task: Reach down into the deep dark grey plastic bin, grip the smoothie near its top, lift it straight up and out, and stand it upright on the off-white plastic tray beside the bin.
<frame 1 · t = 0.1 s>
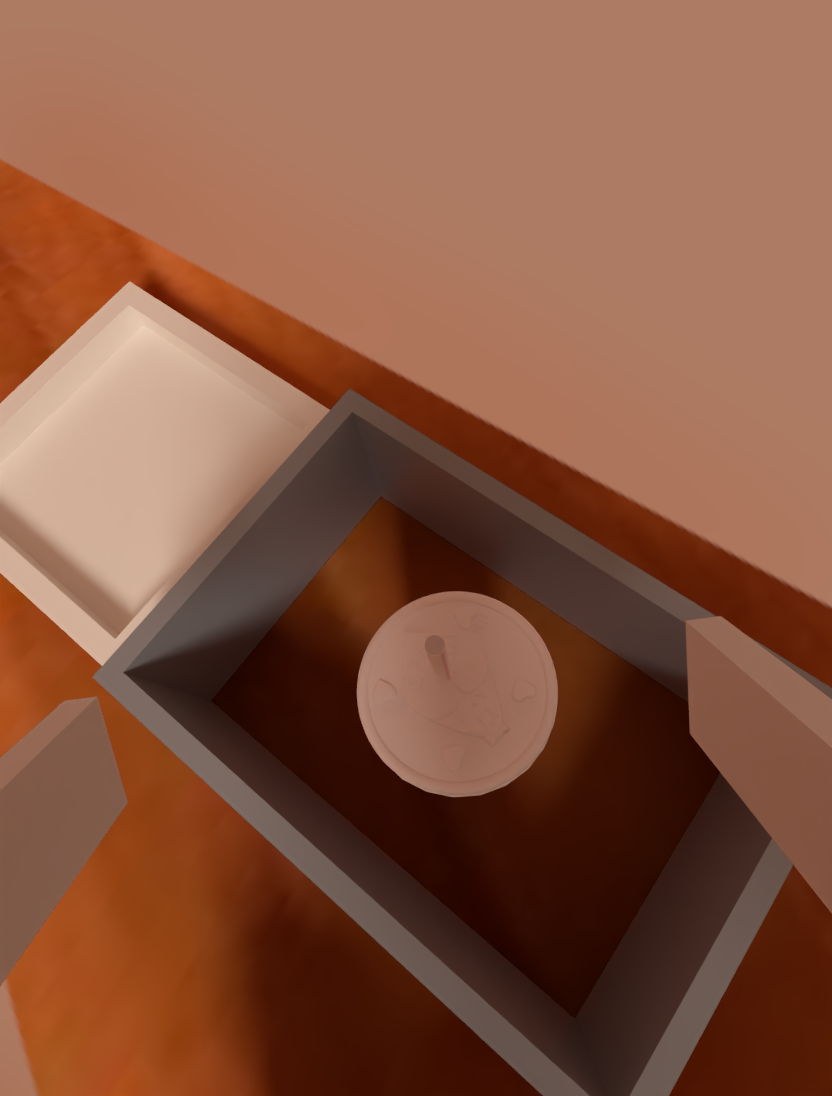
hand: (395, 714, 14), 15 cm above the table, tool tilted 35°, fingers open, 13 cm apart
tray: (148, 478, 35), on the table
deep bin: (463, 718, 29), on the table
smoothie: (463, 719, 29), resting in deep bin
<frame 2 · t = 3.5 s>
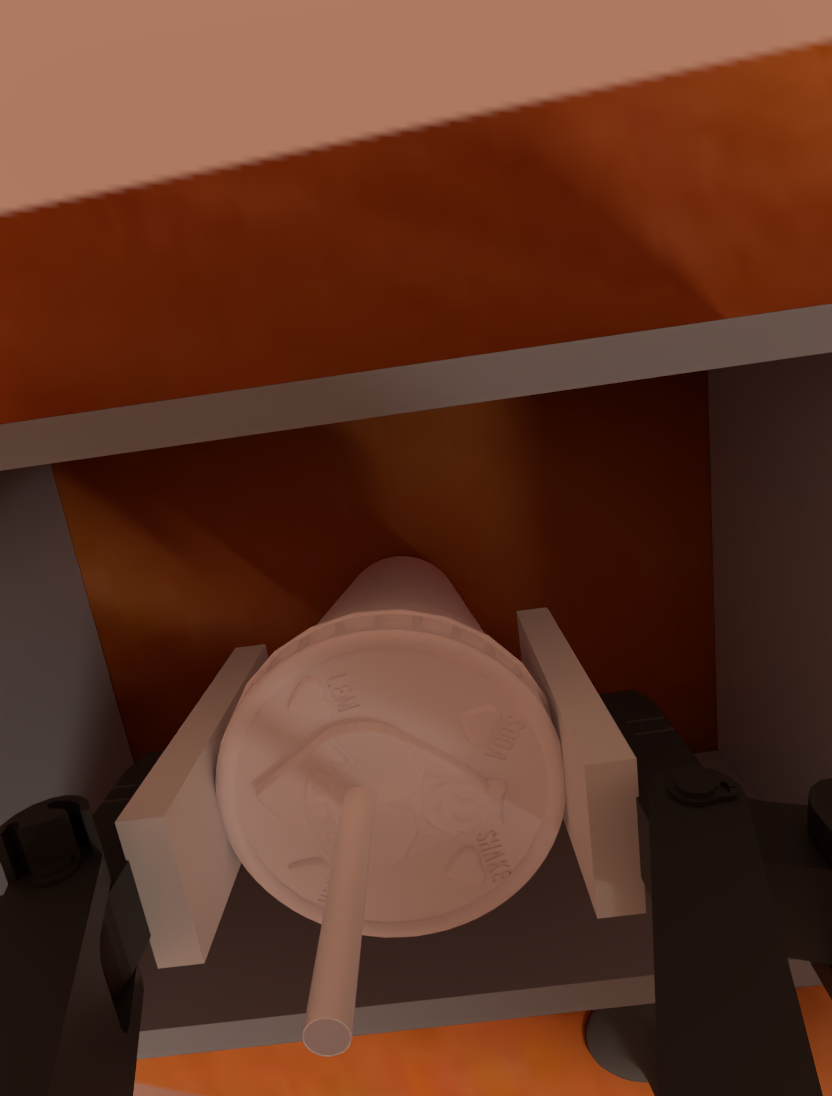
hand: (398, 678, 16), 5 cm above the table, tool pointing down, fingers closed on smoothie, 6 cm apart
deep bin: (402, 611, 21), on the table
smoothie: (402, 608, 21), resting in deep bin, touching gripper
sundae: (647, 1023, 25), on the table
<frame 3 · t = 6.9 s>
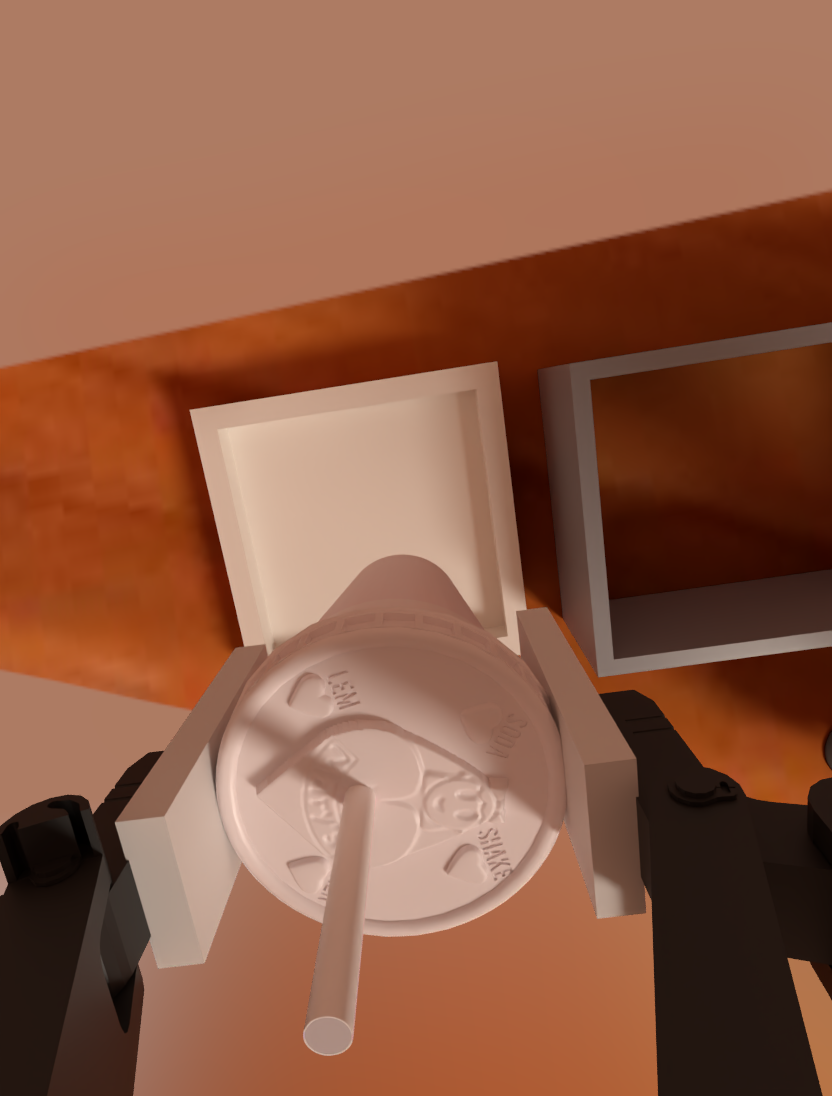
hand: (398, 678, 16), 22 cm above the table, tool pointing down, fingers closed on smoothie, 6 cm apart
tray: (371, 526, 37), on the table
deep bin: (741, 472, 36), on the table
smoothie: (403, 607, 21), point 17 cm above the table, touching gripper
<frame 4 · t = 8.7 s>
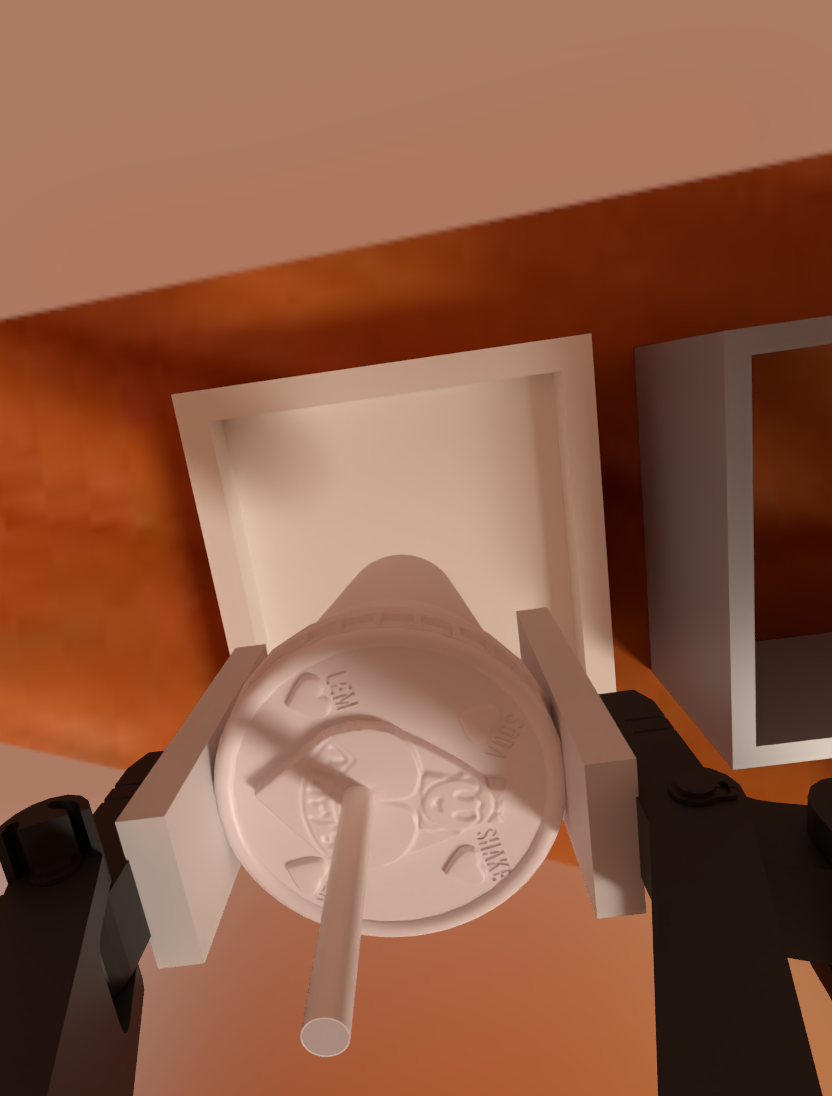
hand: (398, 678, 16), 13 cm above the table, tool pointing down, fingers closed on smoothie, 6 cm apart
tray: (409, 550, 29), on the table
smoothie: (402, 607, 21), point 8 cm above the table, touching gripper
when the fingers open (7 cm above the table, at t = 10.5 s): smoothie drops 1 cm, resting on tray.
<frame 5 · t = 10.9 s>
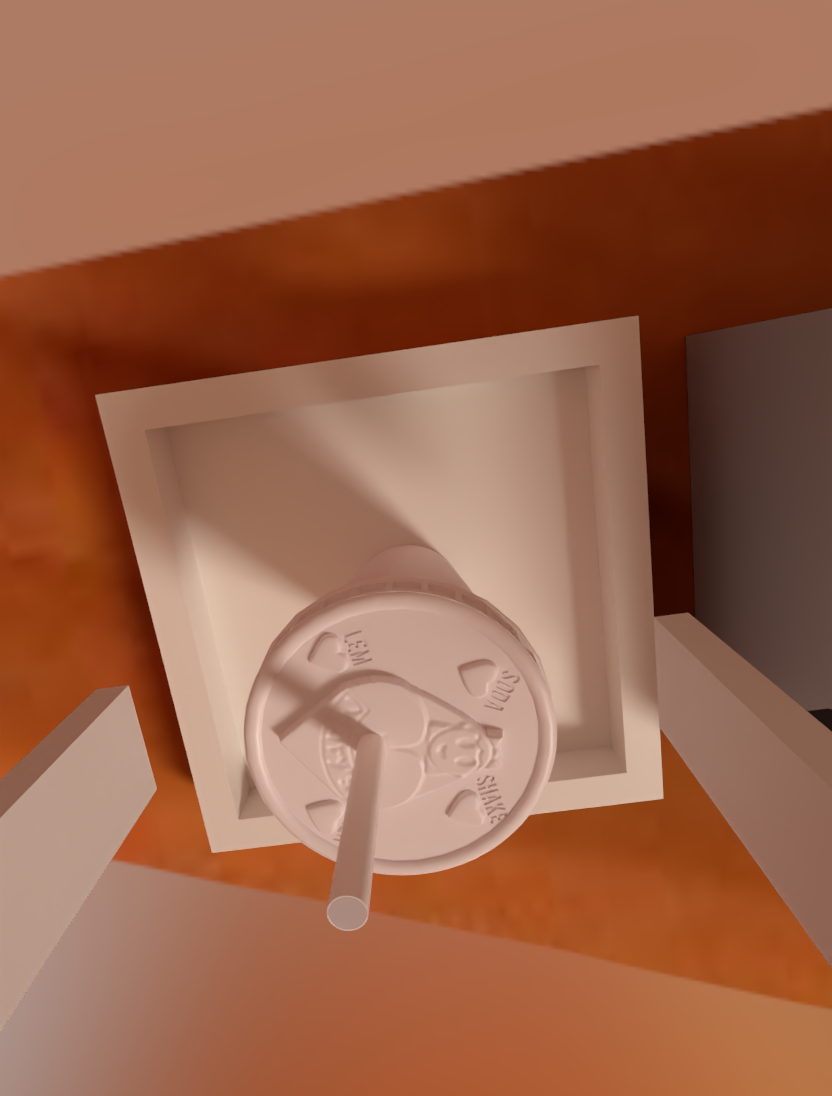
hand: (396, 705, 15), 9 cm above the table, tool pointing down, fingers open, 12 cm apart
tray: (403, 587, 23), on the table
smoothie: (409, 594, 22), point 1 cm above the table, touching tray
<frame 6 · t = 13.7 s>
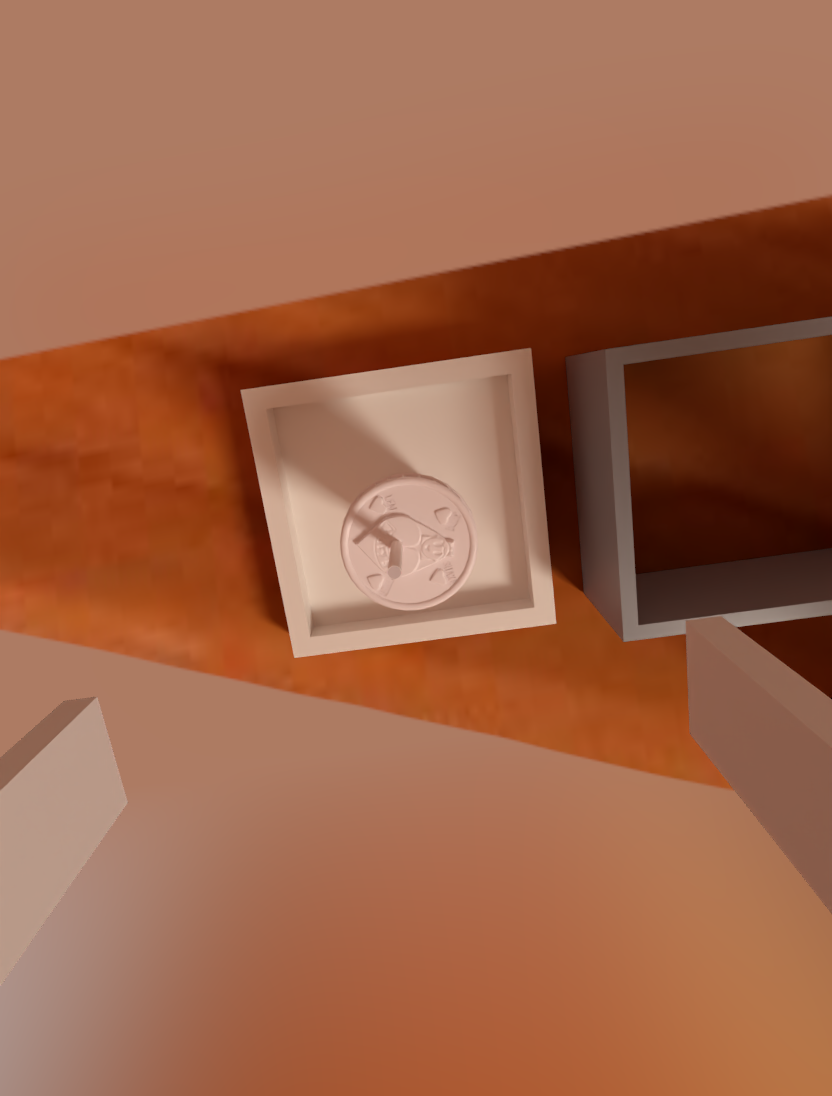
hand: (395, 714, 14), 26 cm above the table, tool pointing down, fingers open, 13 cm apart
tray: (406, 503, 39), on the table
deep bin: (753, 455, 39), on the table
smoothie: (409, 506, 38), point 1 cm above the table, touching tray
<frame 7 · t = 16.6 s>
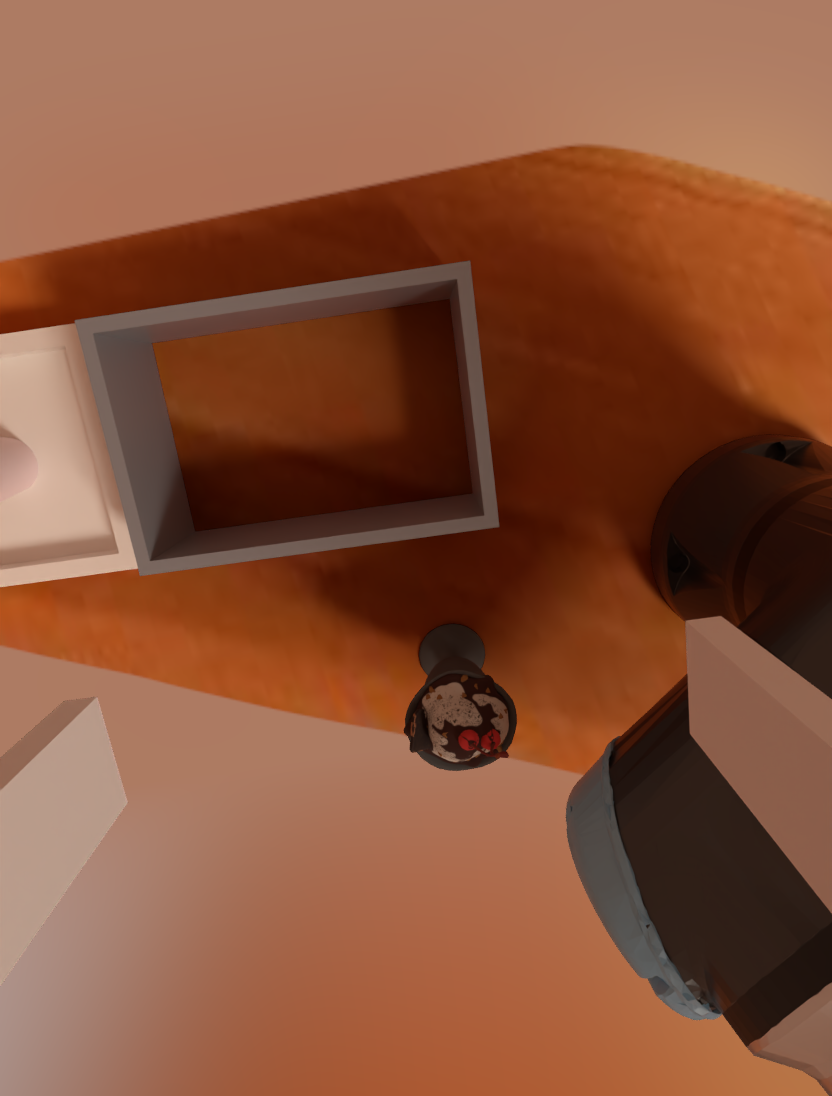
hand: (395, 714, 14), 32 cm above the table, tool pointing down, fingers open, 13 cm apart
tray: (17, 463, 44), on the table
deep bin: (316, 420, 44), on the table
smoothie: (13, 464, 44), point 1 cm above the table, touching tray
sundae: (452, 652, 48), on the table
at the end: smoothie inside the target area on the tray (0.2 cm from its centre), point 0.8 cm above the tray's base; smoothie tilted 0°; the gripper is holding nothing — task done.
